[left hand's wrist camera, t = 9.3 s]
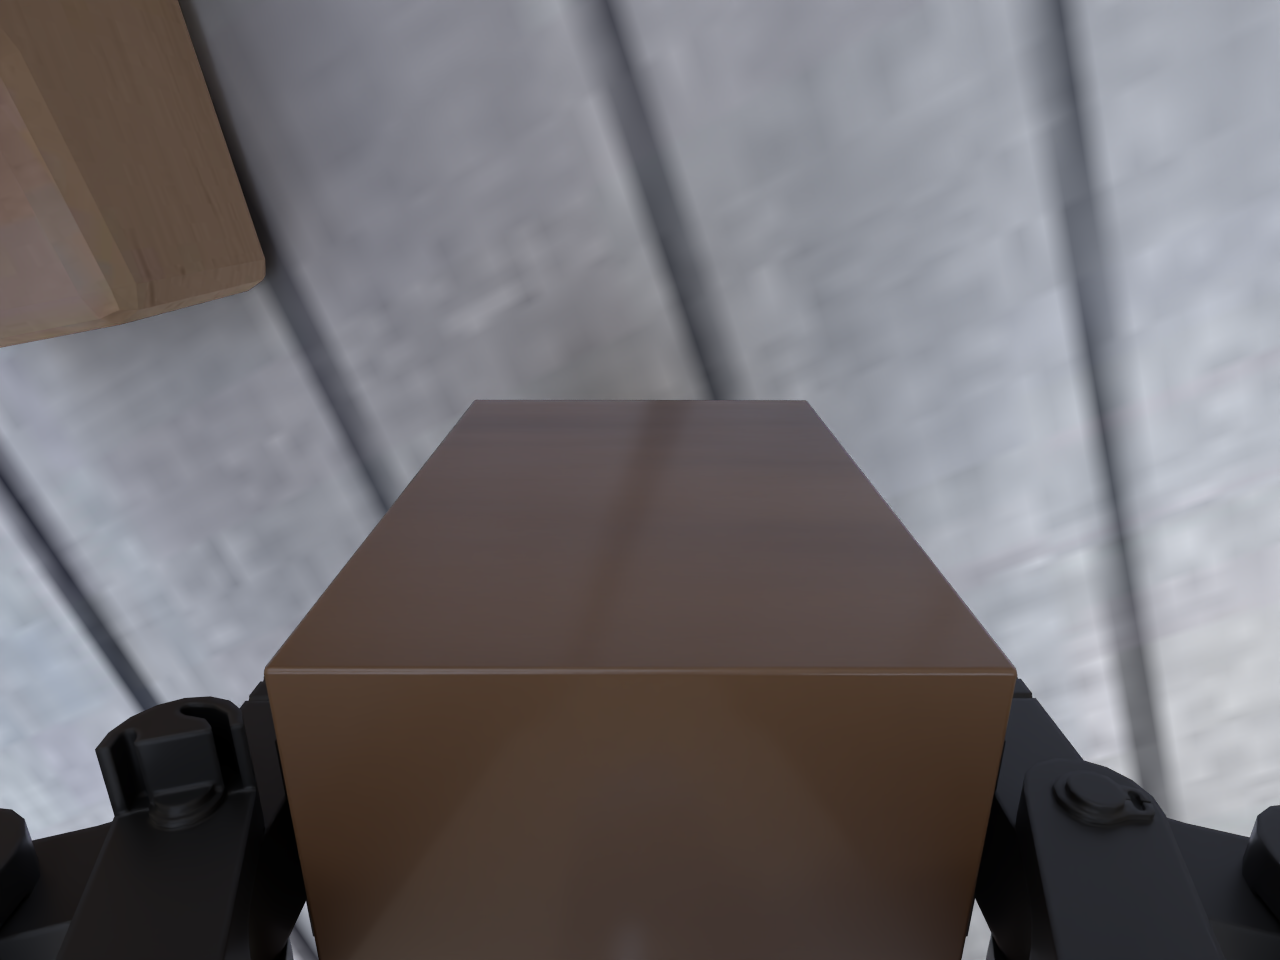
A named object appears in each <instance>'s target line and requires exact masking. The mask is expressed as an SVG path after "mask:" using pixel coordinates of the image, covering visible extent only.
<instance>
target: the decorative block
mask: <svg viewBox="0 0 1280 960" xmlns="http://www.w3.org/2000/svg"><path fill="white" fill-rule="evenodd" d="M265 275H266V271H265V257H264V254H263V251H262V248H261V245H260V242H259V239H258V236H257V233H256V230H255V228H254V225H253V222H252V219H251V216H250V213H249V210H248V207H247V204H246V201H245V198H244V195H243V192H242V189H241V186H240V183H239V180H238V177H237V174H236V171H235V168H234V165H233V162H232V159H231V156H230V153H229V150H228V147H227V144H226V142H225V139H224V136H223V133H222V130H221V127H220V124H219V121H218V118H217V115H216V112H215V109H214V106H213V103H212V100H211V97H210V94H209V91H208V88H207V85H206V82H205V79H204V76H203V73H202V70H201V67H200V64H199V61H198V58H197V56H196V53H195V50H194V47H193V44H192V41H191V38H190V35H189V32H188V29H187V26H186V23H185V20H184V17H183V14H182V11H181V8H180V5H179V2H178V0H0V348H1V347H6V346H11V345H16V344H22V343H27V342H32V341H37V340H42V339H48V338H53V337H58V336H63V335H68V334H74V333H79V332H84V331H89V330H94V329H100V328H105V327H110V326H115V325H120V324H124V323H128V322H132V321H136V320H140V319H143V318H147V317H151V316H155V315H158V314H162V313H166V312H170V311H174V310H177V309H181V308H185V307H189V306H193V305H196V304H200V303H204V302H208V301H211V300H215V299H219V298H223V297H227V296H230V295H234V294H238V293H242V292H245V291H249V290H250V289H251V288H253V287H254V286H255V285H257V284H258V283H259V282H261V281H262V280H263V279H264V277H265Z"/></svg>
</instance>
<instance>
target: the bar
mask: <svg viewBox="0 0 1280 960" xmlns="http://www.w3.org/2000/svg"><path fill="white" fill-rule="evenodd" d="M264 676H265V681H266V687H267V692H268V697H269V702H270V708H271V713H272V718H273V723H274V728H275V734H276V739H277V744H278V749H279V754H280V760H281V765H282V770H283V775H284V780H285V786H286V791H287V796H288V801H289V806H290V812H291V817H292V822H293V827H294V833H295V838H296V843H297V848H298V853H299V859H300V864H301V869H302V874H303V879H304V885H305V890H306V895H307V900H308V905H309V911H310V916H311V921H312V926H313V931H314V937H315V942H316V947H317V952H318V958H319V960H961V959H962V954H963V948H964V943H965V938H966V933H967V928H968V923H969V918H970V913H971V908H972V903H973V897H974V892H975V887H976V882H977V877H978V872H979V867H980V862H981V857H982V852H983V846H984V841H985V836H986V831H987V826H988V821H989V816H990V811H991V806H992V800H993V795H994V790H995V785H996V780H997V775H998V770H999V765H1000V760H1001V755H1002V749H1003V744H1004V739H1005V734H1006V729H1007V724H1008V719H1009V714H1010V709H1011V703H1012V698H1013V693H1014V688H1015V683H1016V678H1017V671H1016V668H1015V667H1014V665H1013V664H1012V663H1011V662H1010V660H1009V659H1008V658H1007V656H1006V655H1005V654H1004V653H1003V651H1002V650H1001V649H1000V647H999V646H998V645H997V644H996V642H995V641H994V640H993V639H992V637H991V636H990V635H989V633H988V632H987V631H986V630H985V628H984V627H983V626H982V624H981V623H980V622H979V621H978V619H977V618H976V617H975V615H974V614H973V613H972V612H971V610H970V609H969V608H968V607H967V605H966V604H965V603H964V601H963V600H962V599H961V598H960V596H959V595H958V594H957V592H956V591H955V590H954V589H953V587H952V586H951V585H950V583H949V582H948V581H947V580H946V578H945V577H944V576H943V575H942V573H941V572H940V571H939V569H938V568H937V567H936V566H935V564H934V563H933V562H932V560H931V559H930V558H929V557H928V555H927V554H926V553H925V552H924V550H923V549H922V548H921V546H920V545H919V544H918V543H917V541H916V540H915V539H914V537H913V536H912V535H911V534H910V532H909V531H908V530H907V528H906V527H905V526H904V525H903V523H902V522H901V521H900V520H899V518H898V517H897V516H896V514H895V513H894V512H893V511H892V509H891V508H890V507H889V505H888V504H887V503H886V502H885V500H884V499H883V498H882V496H881V495H880V494H879V493H878V491H877V490H876V489H875V488H874V486H873V485H872V484H871V482H870V481H869V480H868V479H867V477H866V476H865V475H864V473H863V472H862V471H861V470H860V468H859V467H858V466H857V464H856V463H855V462H854V461H853V459H852V458H851V457H850V456H849V454H848V453H847V452H846V450H845V449H844V448H843V447H842V445H841V444H840V443H839V441H838V440H837V439H836V438H835V436H834V435H833V434H832V432H831V431H830V430H829V429H828V427H827V426H826V425H825V424H824V422H823V421H822V420H821V418H820V417H819V416H818V415H817V413H816V412H815V411H814V409H813V408H812V407H811V406H810V404H809V403H808V402H807V401H805V400H475V401H474V402H473V403H472V404H471V406H470V407H469V408H468V409H467V411H466V412H465V413H464V415H463V416H462V417H461V418H460V420H459V421H458V422H457V423H456V425H455V426H454V427H453V429H452V430H451V431H450V432H449V434H448V435H447V436H446V437H445V439H444V440H443V441H442V443H441V444H440V445H439V446H438V448H437V449H436V450H435V452H434V453H433V454H432V455H431V457H430V458H429V459H428V460H427V462H426V463H425V464H424V466H423V467H422V468H421V469H420V471H419V472H418V473H417V474H416V476H415V477H414V478H413V480H412V481H411V482H410V483H409V485H408V486H407V487H406V488H405V490H404V491H403V492H402V494H401V495H400V496H399V497H398V499H397V500H396V501H395V502H394V504H393V505H392V506H391V508H390V509H389V510H388V511H387V513H386V514H385V515H384V516H383V518H382V519H381V520H380V522H379V523H378V524H377V525H376V527H375V528H374V529H373V530H372V532H371V533H370V534H369V536H368V537H367V538H366V539H365V541H364V542H363V543H362V544H361V546H360V547H359V548H358V550H357V551H356V552H355V553H354V555H353V556H352V557H351V558H350V560H349V561H348V562H347V564H346V565H345V566H344V567H343V569H342V570H341V571H340V572H339V574H338V575H337V576H336V578H335V579H334V580H333V581H332V583H331V584H330V585H329V586H328V588H327V589H326V590H325V592H324V593H323V594H322V595H321V597H320V598H319V599H318V600H317V602H316V603H315V604H314V606H313V607H312V608H311V609H310V611H309V612H308V613H307V615H306V616H305V617H304V618H303V620H302V621H301V622H300V623H299V625H298V626H297V627H296V629H295V630H294V631H293V632H292V634H291V635H290V636H289V637H288V639H287V640H286V641H285V643H284V644H283V645H282V646H281V648H280V649H279V650H278V651H277V653H276V654H275V655H274V657H273V658H272V659H271V660H270V662H269V663H268V664H267V665H266V667H265V670H264Z"/></svg>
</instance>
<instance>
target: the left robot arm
mask: <svg viewBox="0 0 1280 960" xmlns="http://www.w3.org/2000/svg"><path fill="white" fill-rule="evenodd" d="M95 751H96V754H97V758H98V761H99V765H100V768H101V771H102V775H103V778H104V782H105V785H106V788H107V792H108V795H109V798H110V802H111V805H112V809H113V812H114V815H115V817H114V819H113V821H112V822H109V823H106V824H102V825H99V826H95V827H91V828H86V829H82V830H77V831H73V832H68V833H64V834H59V835H55V836H51V837H46V838H42V839H37V840H33V841H32V840H31V837H30V834H29V831H28V828H27V825H26V822H25V819H24V818H22V817H21V816H20V815H18V814H17V813H16V812H14V811H13V810H11V809H1V808H0V960H294V959H293V953H292V947H291V942H290V938H289V936H290V934H291V932H292V929H293V927H294V925H295V923H296V921H297V919H298V917H299V914H300V912H301V910H302V908H303V906H304V904H305V902H306V903H307V908H308V913H309V918H310V923H311V928H312V933H313V936H314V931H313V926H312V921H311V916H310V911H309V905H308V900H307V895H306V890H305V885H304V879H303V874H302V869H301V864H300V859H299V853H298V848H297V843H296V838H295V833H294V827H293V822H292V817H291V812H290V806H289V801H288V796H287V791H286V786H285V780H284V775H283V770H282V765H281V760H280V754H279V749H278V744H277V739H276V734H275V728H274V723H273V718H272V713H271V708H270V702H269V697H268V692H267V687H266V681H265V676H264V681H263V682H260V683H259V684H258V685H257V687H256V688H255V689H254V690H253V692H252V693H251V694H250V696H249V701H245V702H244V704H243V705H242V706H241V707H240V708H238V707H237V706H236V705H235V704H233V703H232V702H231V701H229V700H224V699H220V698H215V697H194V698H183V699H179V700H176V701H172V702H168V703H164V704H160V705H157V706H154V707H152V708H150V709H148V710H145V711H143V712H141V713H139V714H137V715H134V716H132V717H130V718H129V719H127V720H126V721H124V722H123V723H122V724H120V725H119V726H117V727H116V728H115V729H113V730H112V731H110V732H109V733H108V734H107V735H106V737H105V738H104V739H103V740H102V742H101V743H100V744H99V745H98V747H97V748H96V749H95ZM975 899H976V901H977V903H978V905H979V907H980V909H981V911H982V914H983V916H984V918H985V920H986V922H987V924H988V926H989V928H990V931H991V938H990V942H989V947H988V952H987V957H986V960H1280V805H1278V806H1270V807H1269V808H1267V809H1266V810H1265V811H1263V812H1262V813H1261V814H1259V815H1258V816H1257V819H1256V822H1255V825H1254V827H1253V830H1252V833H1251V836H1250V838H1249V837H1245V836H1241V835H1236V834H1232V833H1227V832H1223V831H1218V830H1214V829H1209V828H1205V827H1200V826H1196V825H1191V824H1187V823H1183V822H1180V821H1176V820H1173V819H1169V818H1166V815H1165V814H1164V812H1163V811H1162V809H1161V808H1160V806H1159V805H1158V804H1157V802H1156V801H1155V799H1154V798H1153V797H1152V796H1151V795H1150V794H1149V793H1147V792H1146V791H1145V790H1144V789H1142V788H1141V787H1140V786H1139V785H1137V784H1136V783H1135V782H1134V781H1133V780H1131V779H1129V778H1127V777H1125V776H1123V775H1121V774H1119V773H1117V772H1115V771H1113V770H1111V769H1109V768H1107V767H1104V766H1101V765H1097V764H1094V763H1090V762H1087V761H1084V760H1083V759H1082V758H1081V756H1080V755H1079V754H1078V752H1077V751H1076V750H1075V749H1074V747H1073V746H1072V745H1071V743H1070V742H1069V741H1068V740H1067V738H1066V737H1065V736H1064V734H1063V733H1062V732H1061V730H1060V729H1059V728H1058V727H1057V725H1056V724H1055V723H1054V721H1053V720H1052V719H1051V717H1050V716H1049V715H1048V714H1047V712H1046V711H1045V710H1044V708H1043V707H1042V706H1041V704H1040V703H1039V702H1038V701H1037V699H1036V698H1032V693H1031V691H1030V690H1029V689H1028V688H1027V686H1026V685H1025V684H1024V682H1023V681H1022V680H1021V679H1018V678H1016V683H1015V688H1014V693H1013V698H1012V703H1011V709H1010V714H1009V719H1008V724H1007V729H1006V734H1005V739H1004V744H1003V749H1002V755H1001V760H1000V765H999V770H998V775H997V780H996V785H995V790H994V795H993V800H992V806H991V811H990V816H989V821H988V826H987V831H986V836H985V841H984V846H983V852H982V857H981V862H980V867H979V872H978V877H977V882H976V887H975V892H974V897H973V903H972V908H971V913H970V918H969V923H968V928H967V933H966V936H968V931H969V926H970V921H971V916H972V911H973V906H974V900H975Z"/></svg>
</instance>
